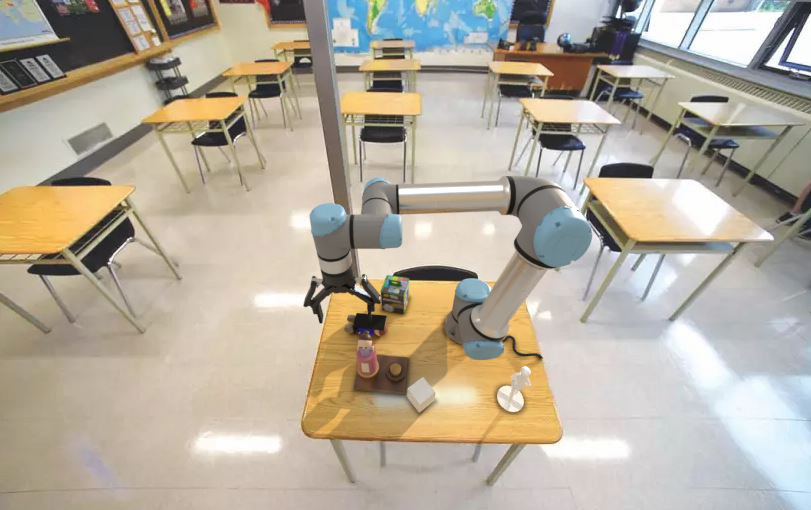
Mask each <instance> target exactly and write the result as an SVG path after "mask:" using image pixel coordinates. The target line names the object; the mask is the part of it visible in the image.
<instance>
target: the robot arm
mask: <svg viewBox="0 0 811 510" xmlns="http://www.w3.org/2000/svg"><path fill="white" fill-rule="evenodd" d="M484 212H485V213H486V212H487V213H488V212H497V213H499V214H500V215H501V216H513V217H516V218H517V219H518V220H519V223H520V224H521V227H520V230H519V231H518V234H517V235H516V237H515V238H514V240H513V248H514V252H513V254H512V255H511V257H510V259H509V260H508V262H507V264H506V266H505V267H504V268H503V270H502V272H501V273H500V275H499V277H498V278H497V280H496V281H495V283H494V284H493V286H492V287H491V286H490V285H489V284H488V283H487V282H486V281H483V280H481V279H479V278H473V277H472V278H464V279H462V280H461V281H459V282H458V283H457V285H456V286H455V287H456V288H455V289H454V298H453V303H452V308H451V311H450V312H449V313H448V314H447V315H446V317H445V320H444V323H443V324H444V325H443V330H444V332H445V334H446V336H447V337H448V339H449V340H451V341H452V342H453V343H454V344H456V345H459V346H462V348H463V352H464V354H465V356H466V357H468V358H469V359H472V360H475V361H490V360H493V359H497V358H499V357H501V356H502V355H503V354H504V353H505V344H504V343H506V342H507V340H509V339H511V340H512V351H513V352H514V353H515V354H516V355H517V356H520V357H537V358H539V359H540V360H544V357H543V356H542V355H541V354H539V353H537V352H536V353H535V352H531V353H530V352H529V353H522V352H519V351H518V350H517V348H516V345H517V344H516V343H517V342H516V338H515V337H514V336H512V335H510V334H509V335H507V334H508V333H509V330H510V321H511V319H513V317H514V315H516V313H517V312H518V310H519V309H520V307H521V306H522V305H524V304H523V303H525V301H526V300H527V299H528V297H529V296H530V294H531V293H532V292H533V290H534V289H535V287H536V286H537V285H538V283H539V282H540V281H541V280H542V278H543V277H544V275H545V274H546V273H547V272H548V270H556V269H559V268H561V267H562V268H563V267H567V266H570V265H571V263H572V262H573V261H574V262H577V261H578V260H580V259H581V258H582V257H583V256H584V255H585V254H586V252H587V251H588V250H589V248H590V246H591V244H592V241H593V230H592V227H591V225H590V223H589V222H588V219H587V217H586V215H585V214H584V213H583V211H582V210H580V209H579V208H578V207H577V206H576V205H575V203H574V202H573V201H572V199H571V198H570V197H569V196H568V194H567V193H566V191H565V189H563V187H561V185H559V184H558V183H556V182H555V181H552V180H550V179H547V178H543V177H538V176H530V175H529V176H528V175H503V176H501V177H500V178H499V179H498V180H480V181H479V180H478V181H454V182H452V181H451V182H428V183H427V182H425V183H401V184H399V183H398V184H396V183H395V184H393V183H391V182H390V181H389V180H388V179H385V178H383V177H374V178H371V179H369V180H368V181H367V182H366V184H365V185H364V190H363V192H362V196H361V209H360V213H359V214H357V213H356V214H347V212H346V210H345V208H344V206H342V205H341V204H339V203H334V202H324V203H320V204H318V205H316V206H315V207H314V208H313V209H312V210H311V211H310V213H309V224H310V232H311V233H310V234H311V235H312V239H313V243H314V246H315V250H316V255H317V260H318V265H319V268H320V273H321V277H322V278H318V277H317V276H316V275H312V276H311V280H310V286H309V288H308V290H307V293H306V295H305V297H304V300H303V305H302V306H303V307H304V308H308V307H310V308H311V310H312V314H313V315H317V319H318V323H319V324H321V325H322V324H323V321H324V311H323V308H322V305H321V303H322V302H323V301H324V300H325V299H326V298H327V297H330V295H331V294H332V293H333V294H334V295H335V294H347V293H348V294H349V295H351V296H355V297H356V298H358V299H359V300H361V301H362V302H364V303H365V304H366V308H367V314H368V320H369V321H371V314H372V313H374V312H375V311H376V304H377V305H380V304H382V302H381V293H379V291H378V290H377V289H376V288H375V286H374V285H372V283H371V282H370V280H369V279H368V275H367V274H366V273H362V275H361V276H358V277H357V276H355V274H354V268H353V267H354V266H353V260H352V259H353V258H352V252H351V250H387V249H397V248H400V247H402V244H403V217H402V215H425V214H426V215H427V214H428V215H429V214H430V215H431V214H457V213H484ZM358 284H359V285H358ZM321 285H322V286H323V288H322V289H321V290H320V291H319V292H318V293H317V294H316V295H315V293H316V290H317V289H318V288H319V287H320V286H321ZM541 358H542V359H541Z"/></svg>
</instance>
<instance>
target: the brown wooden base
mask: <svg viewBox="0 0 811 510" xmlns="http://www.w3.org/2000/svg"><path fill="white" fill-rule="evenodd" d="M376 356H377V361H378V364H379V370H378V372H377V373H376V375H374V376H373V377H370V378H364V377H362V376H360V375H359V373H358V371H357V370H356V377H355V381H354V386H353V390H354V391H359V392H360V391H361V392H371V393H381V394H389V395H391V394H392V395H401V396H405V395H406V385H407V373H408V364H409V357H408V356H407V357H406V356H396V355H386V354H376ZM395 363H397V364H399V365H400V366H401V374H400V375H399V376H396V377H395V376H392V375H391V373H390V367H391V365H392V364H395Z"/></svg>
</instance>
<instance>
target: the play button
mask: <svg viewBox="0 0 811 510" xmlns="http://www.w3.org/2000/svg"><path fill="white" fill-rule="evenodd" d="M390 373H391V375H392V376H395V377H396V376H399V375H400V374H401V366H400V365H399V364H397V363H395V364H392V365H391V367H390Z"/></svg>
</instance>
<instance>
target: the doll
mask: <svg viewBox="0 0 811 510" xmlns="http://www.w3.org/2000/svg"><path fill="white" fill-rule="evenodd" d="M369 334H370V333H369V331H364V332H363V334H362V335H361V334H359V337H358V340H357V345H356V351H355V355H356V362H357V365H356V372H357V371H358V373H359V375H360V376H362V377H364V378H370V377H373V376H374V375H376V373H377V372H378V370H379V364H378V361H377V356H376V355H377V349H376V346H375V345H374V344H373V338H372V335H369Z"/></svg>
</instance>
